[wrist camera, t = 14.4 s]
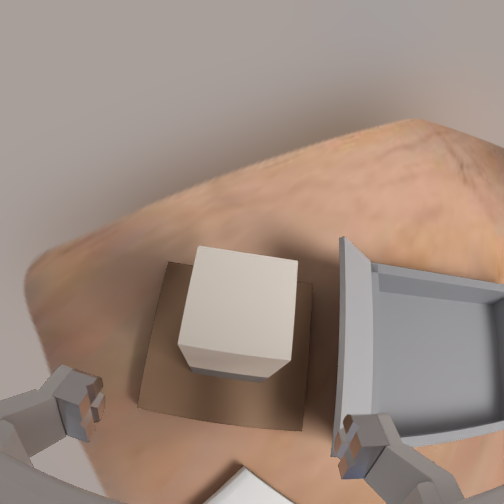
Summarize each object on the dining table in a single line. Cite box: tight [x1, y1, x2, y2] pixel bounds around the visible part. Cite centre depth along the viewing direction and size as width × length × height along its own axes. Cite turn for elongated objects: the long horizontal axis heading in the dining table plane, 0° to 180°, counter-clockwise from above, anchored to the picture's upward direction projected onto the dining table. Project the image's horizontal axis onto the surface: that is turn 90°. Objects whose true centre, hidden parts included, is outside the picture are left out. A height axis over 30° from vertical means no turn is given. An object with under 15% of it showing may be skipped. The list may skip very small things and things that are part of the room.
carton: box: [331, 236, 504, 457], centre depth 20 cm, size 24×14×6 cm, turn 83°
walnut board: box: [137, 262, 312, 431], centre depth 22 cm, size 11×11×1 cm
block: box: [178, 245, 298, 383], centre depth 18 cm, size 5×5×9 cm
